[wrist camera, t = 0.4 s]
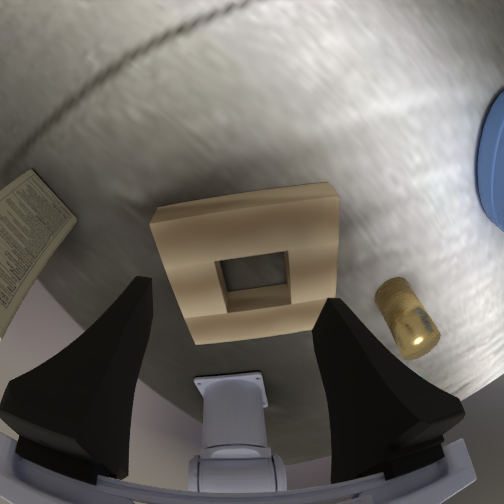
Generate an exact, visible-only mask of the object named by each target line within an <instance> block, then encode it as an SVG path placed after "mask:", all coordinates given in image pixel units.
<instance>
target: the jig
mask: <svg viewBox="0 0 504 504" xmlns="http://www.w3.org/2000/svg"><path fill="white" fill-rule="evenodd" d="M339 210H340V196H339V195H338V193H337V192H336V191H335V190H334V189H333V187H332V186H331V185H330V184H329V183H328V182H324V183H314V184H305V185H297V186H289V187H281V188H273V189H265V190H258V191H251V192H244V193H237V194H231V195H224V196H218V197H212V198H206V199H200V200H194V201H189V202H183V203H178V204H172V205H167V206H162V207H158V208H157V210H156V212H155V214H154V216H153V218H152V220H151V222H150V224H149V225H150V228H151V231H152V234H153V237H154V240H155V243H156V245H157V248H158V251H159V254H160V257H161V260H162V262H163V265H164V268H165V270H166V273H167V276H168V279H169V281H170V284H171V286H172V289H173V292H174V294H175V297H176V299H177V302H178V304H179V307H180V309H181V312H182V314H183V316H184V319H185V321H186V324H187V326H188V328H189V331H190V333H191V335H192V338H193V340H194V342H195V345H199V344H210V343H220V342H229V341H238V340H246V339H254V338H261V337H269V336H275V335H282V334H289V333H295V332H301V331H307V330H312V329H313V327H314V325H315V323H316V321H317V319H318V317H319V315H320V313H321V310H322V308H323V306H324V304H325V302H326V300H327V298H335V293H336V280H337V264H338V244H339ZM282 251H284V255H285V268H286V282H287V284H280V285H273V286H267V287H260V288H253V289H245V290H238V291H231V292H227V289H226V284H225V280H224V276H223V272H222V268H221V264H220V260H227V259H234V258H240V257H247V256H254V255H261V254H268V253H275V252H282Z"/></svg>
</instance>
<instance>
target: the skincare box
mask: <svg viewBox="0 0 504 504" xmlns="http://www.w3.org/2000/svg"><path fill="white" fill-rule="evenodd" d="M76 223H77V218H76V217H75V216H74V215H73V214H72V213H71V211H70V210H69V209H68V208H67V207H66V206H65V205H64V204H63V203H62V202H61V201H60V200H59V199H58V197H57V196H56V195H55V194H54V193H53V192H52V191H51V190H50V189H49V188H48V187H47V185H46V184H45V183H44V182H43V181H42V180H41V179H40V178H39V177H38V176H37V175H36V173H35V172H34V171H33V170H32V169H30V170H28V171H27V172H25V173H24V174H22V175H21V176H20V177H18V178H17V179H15V180H14V181H13V182H11V183H10V184H9V185H7V186H6V187H5V188H3V189H2V190H1V191H0V342H1V340H2V338H3V336H4V334H5V332H6V330H7V328H8V326H9V324H10V323H11V321H12V319H13V317H14V315H15V313H16V312H17V310H18V308H19V306H20V305H21V303H22V301H23V300H24V298H25V296H26V295H27V293H28V291H29V289H30V288H31V286H32V285H33V283H34V282H35V280H36V279H37V277H38V275H39V274H40V272H41V271H42V270H43V268H44V267H45V265H46V264H47V262H48V261H49V259H50V258H51V256H52V255H53V253H54V252H55V251H56V249H57V248H58V247H59V245H60V244H61V243H62V241H63V240H64V239H65V237H66V236H67V234H68V233H69V232H70V231H71V229H72V228H73V227H74V225H75V224H76Z"/></svg>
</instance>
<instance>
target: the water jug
mask: <svg viewBox="0 0 504 504" xmlns="http://www.w3.org/2000/svg"><path fill="white" fill-rule="evenodd" d="M478 187H479V193H480V198H481V202H482V205H483V208H484V210H485V212H486V214H487V216H488V217H489V219H490V220H491V221H492V222H493V223H494V224H495V225H496V226H498V227H499V228H500V229H501V230H502V231H503V232H504V91H503V92H502V93H501V94H500V95H499V96H498V98H497V99H496V101H495V102H494V104H493V106H492V107H491V109H490V112H489V114H488V116H487V119H486V122H485V125H484V128H483V132H482V137H481V141H480V147H479V155H478Z"/></svg>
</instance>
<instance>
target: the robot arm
mask: <svg viewBox="0 0 504 504" xmlns="http://www.w3.org/2000/svg"><path fill="white" fill-rule="evenodd" d="M152 319H153V298H152V278H148V277H141V276H136V277H135V278H134V279H133V280H132V282H131V283H130V284H129V285H128V287H127V288H126V289H125V290H124V291H123V293H122V294H121V295H120V296H119V297H118V298H117V299H116V300H115V302H114V303H113V304H112V305H111V306H110V307H109V308H108V309H107V310H106V311H105V312H104V313H103V314H102V315H101V316H100V317H99V318H98V319H97V320H96V321H95V322H94V324H93V325H91V326H90V327H89V328H88V329H87V330H86V331H85V332H84V333H83V334H82V335H80V336H79V337H78V338H77V339H76V340H75V341H73V342H72V343H71V344H70V345H68V346H67V347H66V348H64V349H63V350H62V351H60V352H59V353H58V354H56V355H55V356H53V357H52V358H50V359H49V360H47V361H46V362H44V363H42V364H41V365H39V366H38V367H36V368H34V369H33V370H31V371H29V372H27V373H25V374H23V375H21V376H19V377H17V378H15V379H13V380H11V381H9V383H8V385H7V388H6V389H5V392H4V395H3V398H2V400H1V403H0V418H1V419H2V420H3V421H4V422H5V423H6V424H7V425H8V426H9V427H10V428H11V429H13V430H14V431H15V432H16V433H17V434H18V435H19V439H18V442H17V441H16V440H14V439H12V438H11V437H9V436H7V435H5V434H3V433H1V432H0V497H1V498H3V499H5V500H6V501H8V502H10V503H11V504H135V503H133V502H132V501H136V502H141V503H147V504H316V503H321V502H327V501H332V500H336V499H341V498H345V497H350V496H352V497H351V499H350V500H348V501H344V502H341V503H337V504H441V503H442V502H444V501H445V500H446V499H448V498H450V497H451V496H453V495H454V494H456V493H457V492H459V491H460V490H462V489H463V488H465V487H466V486H468V485H469V484H471V483H472V482H474V481H475V480H476V479H477V477H476V474H475V471H474V468H473V465H472V462H471V459H470V456H469V454H468V451H467V448H466V445H465V443H464V440H463V439H460V440H458V441H455V442H453V443H451V444H449V445H447V446H445V447H443V448H442V446H441V443H442V442H444V438H443V434H444V433H446V432H447V431H448V430H450V429H451V428H452V427H454V426H455V425H456V424H458V423H459V422H460V421H461V420H462V419H463V418H464V416H465V411H464V409H463V406H462V404H461V402H460V400H459V398H457V397H455V396H453V395H451V394H449V393H447V392H445V391H443V390H441V389H439V388H438V387H436V386H434V385H433V384H431V383H429V382H428V381H426V380H425V379H423V378H422V377H420V376H419V375H418V374H416V373H415V372H413V371H412V370H411V369H409V368H408V367H407V366H406V365H404V364H403V363H402V362H401V361H400V360H399V359H397V358H396V357H395V356H394V355H393V354H392V353H391V352H390V351H389V350H388V349H387V348H386V347H385V346H384V345H383V344H382V343H381V342H380V341H379V340H378V339H377V338H376V337H375V336H374V335H373V334H372V333H371V332H370V331H369V330H368V328H367V327H366V326H365V325H364V324H363V323H362V322H361V321H360V320H359V318H358V317H357V316H356V315H355V314H354V313H353V312H352V311H351V309H350V308H349V307H348V306H347V305H346V304H345V303H344V302H343V301H342V300H341V299H340V298H327V300H326V302H325V304H324V306H323V308H322V310H321V313H320V315H319V317H318V319H317V321H316V323H315V325H314V327H313V329H312V334H313V343H314V350H315V354H316V358H317V362H318V366H319V370H320V373H321V377H322V381H323V385H324V388H325V392H326V397H327V402H328V410H329V418H330V429H331V448H332V464H331V484H330V485H325V486H319V487H312V488H305V489H297V490H289V491H287V488H286V487H287V482H286V472H285V467H284V463H283V460H282V459H281V458H280V457H279V456H278V455H277V454H271V448H270V447H269V448H267V439H266V429H265V420H264V410H263V408H265V407H267V406H268V402H267V397H266V392H265V388H264V383H263V378H262V373H261V372H251V373H242V374H233V375H222V376H210V377H196V378H194V383H195V384H196V386H197V388H198V390H199V391H200V393H201V395H202V396H203V398H204V406H203V449H200V455H195V456H194V457H193V458H192V459H191V460H190V461H189V466H188V491H182V490H172V489H165V488H158V487H152V486H146V485H140V484H135V483H130V482H125V481H120V480H122V479H124V478H126V477H127V476H128V466H129V465H128V463H129V439H130V426H131V416H132V407H133V400H134V392H135V387H136V382H137V379H138V375H139V371H140V368H141V364H142V360H143V357H144V353H145V350H146V346H147V343H148V340H149V336H150V330H151V325H152ZM109 477H110V478H109ZM112 478H114V479H112ZM117 479H120V480H117Z"/></svg>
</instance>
